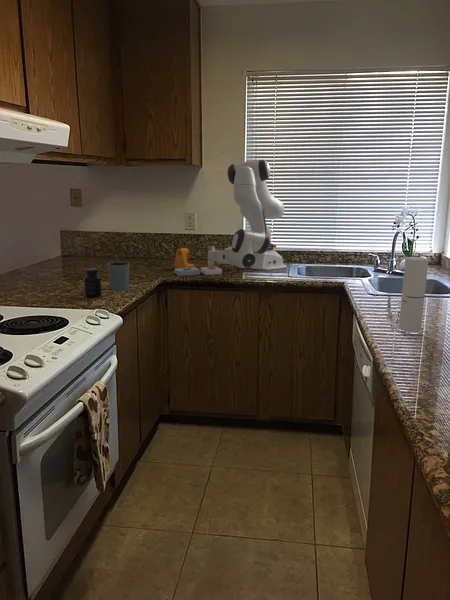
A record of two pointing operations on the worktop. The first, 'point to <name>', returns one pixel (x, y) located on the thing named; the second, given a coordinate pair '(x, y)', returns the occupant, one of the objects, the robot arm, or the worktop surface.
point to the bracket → (182, 259)
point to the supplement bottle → (92, 283)
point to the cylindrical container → (413, 294)
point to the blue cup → (118, 275)
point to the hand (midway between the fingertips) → (220, 251)
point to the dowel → (210, 262)
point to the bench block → (186, 271)
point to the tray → (211, 271)
